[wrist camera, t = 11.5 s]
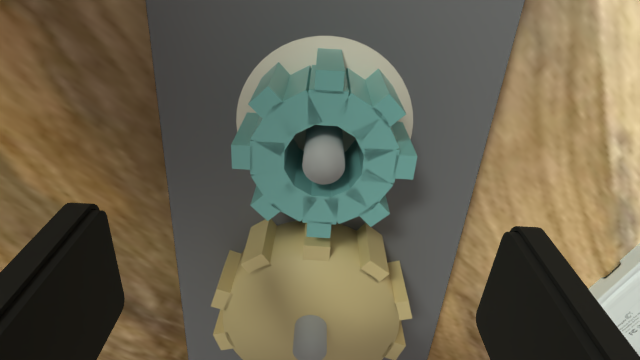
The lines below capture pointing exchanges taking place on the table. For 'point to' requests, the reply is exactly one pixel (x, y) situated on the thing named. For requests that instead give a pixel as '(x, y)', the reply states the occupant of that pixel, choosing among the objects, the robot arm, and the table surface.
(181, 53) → the gear board
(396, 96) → the teal gear
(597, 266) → the table surface
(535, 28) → the table surface
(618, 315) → the external hard drive
